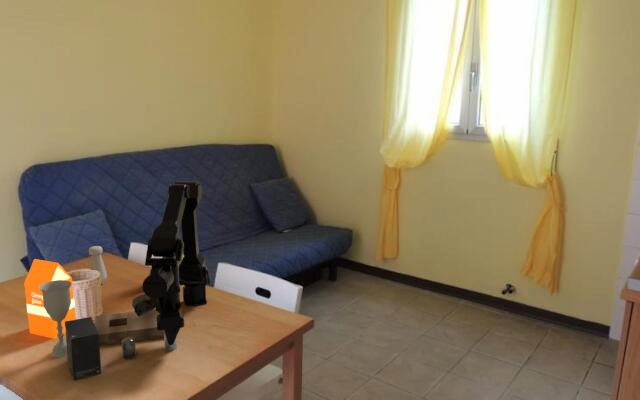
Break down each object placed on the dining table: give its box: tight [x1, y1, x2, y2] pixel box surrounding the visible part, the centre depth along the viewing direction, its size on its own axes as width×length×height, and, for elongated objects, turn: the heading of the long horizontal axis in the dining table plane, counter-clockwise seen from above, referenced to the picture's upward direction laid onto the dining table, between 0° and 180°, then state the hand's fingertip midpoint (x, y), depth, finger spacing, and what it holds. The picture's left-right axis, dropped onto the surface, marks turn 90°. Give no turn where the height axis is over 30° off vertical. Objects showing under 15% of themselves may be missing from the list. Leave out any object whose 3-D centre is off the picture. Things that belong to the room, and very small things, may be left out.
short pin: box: [121, 337, 137, 360], centre depth 125 cm, size 3×3×4 cm
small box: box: [65, 316, 102, 381], centre depth 119 cm, size 11×6×10 cm, turn 33°
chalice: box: [39, 280, 71, 358], centre depth 125 cm, size 7×7×18 cm
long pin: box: [163, 331, 178, 352], centre depth 129 cm, size 3×3×9 cm
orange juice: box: [23, 258, 77, 340], centre depth 136 cm, size 8×9×20 cm
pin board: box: [94, 308, 164, 346], centre depth 138 cm, size 20×12×3 cm, turn 109°
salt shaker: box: [88, 245, 108, 285], centre depth 170 cm, size 6×6×13 cm
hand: (170, 339), depth 129 cm, fingers open, 6 cm apart
